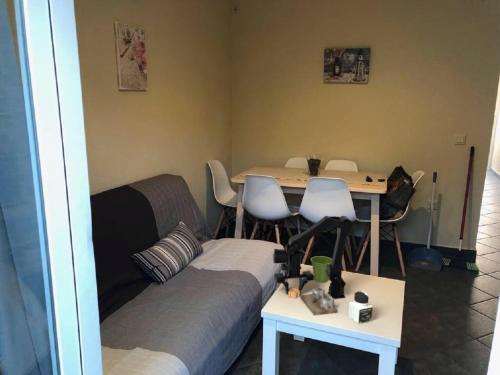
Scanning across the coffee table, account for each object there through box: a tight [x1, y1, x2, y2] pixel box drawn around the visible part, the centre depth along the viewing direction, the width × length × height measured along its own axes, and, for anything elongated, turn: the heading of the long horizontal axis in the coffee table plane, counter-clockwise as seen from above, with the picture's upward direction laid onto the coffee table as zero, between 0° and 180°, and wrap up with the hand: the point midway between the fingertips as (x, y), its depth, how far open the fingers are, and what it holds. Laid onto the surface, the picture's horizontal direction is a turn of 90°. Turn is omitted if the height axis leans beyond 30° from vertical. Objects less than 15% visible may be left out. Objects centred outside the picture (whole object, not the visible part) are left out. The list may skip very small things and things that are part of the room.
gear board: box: [299, 287, 338, 316], centre depth 188 cm, size 11×17×6 cm, turn 14°
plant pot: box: [310, 255, 333, 283], centre depth 216 cm, size 12×12×11 cm
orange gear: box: [286, 286, 301, 300], centre depth 197 cm, size 6×6×3 cm
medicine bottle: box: [348, 290, 373, 325], centre depth 176 cm, size 7×7×12 cm
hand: (293, 293), depth 198 cm, fingers open, 6 cm apart
